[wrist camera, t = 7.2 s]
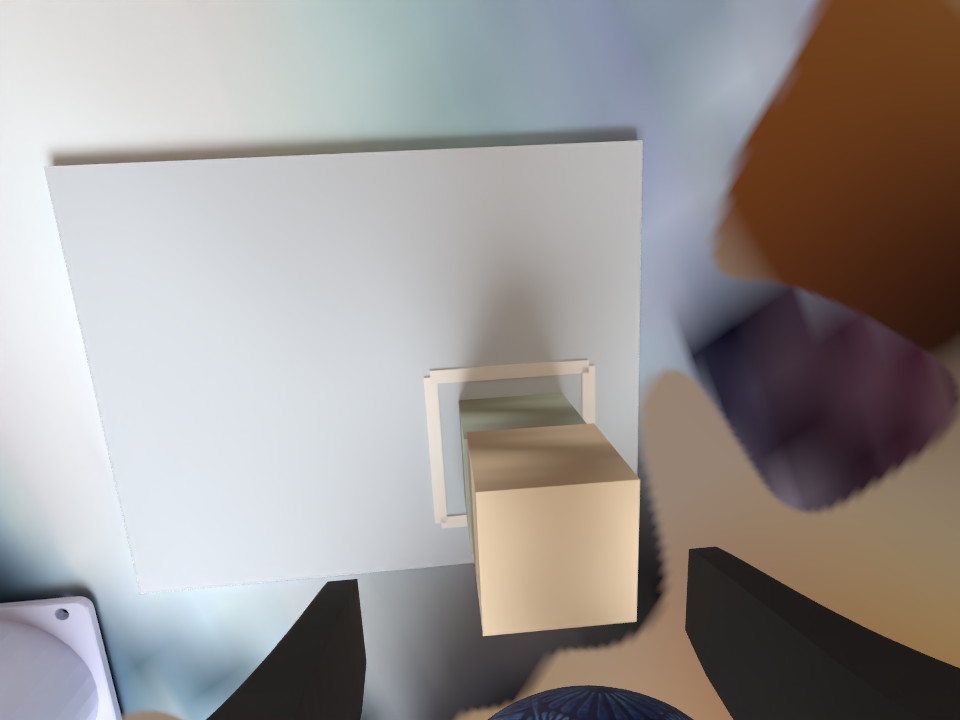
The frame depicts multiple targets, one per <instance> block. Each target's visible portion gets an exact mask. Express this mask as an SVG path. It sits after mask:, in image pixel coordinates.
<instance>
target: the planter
mask: <svg viewBox="0 0 960 720" xmlns="http://www.w3.org/2000/svg"><path fill="white" fill-rule="evenodd" d="M488 720H693V719H692V718H690V717H689V716H687V715H686V714H684V713H683V712H681V711H680V710H678V709H677V708H674V707H672V706H671V705H669V704H667V703H665V702H662V701H660V700H657V699H654V698H651V697H649V696H646V695H643V694H640V693H636V692H632V691H629V690H624V689H618V688H612V687H604V686H570V687H562V688H557V689H552V690H548V691H544V692H541V693H537V694H535V695H531V696H529V697H526V698H524V699H521V700H519V701H517V702H515V703H513V704H511V705H509V706H507V707H506V708H504V709H502V710H501V711H499V712H498V713H496V714H495V715H494V716H492V717H491V718H489V719H488Z"/></svg>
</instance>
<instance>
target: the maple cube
mask: <svg viewBox="0 0 960 720" xmlns="http://www.w3.org/2000/svg"><path fill="white" fill-rule="evenodd" d="M466 434H467V452H468V471H469V490H470V508H471V527H472V546H473V556H474V564H475V573H476V581H477V590H478V598H479V607H480V615H481V624H482V632H483V636H491V635H501V634H512V633H522V632H533V631H543V630H554V629H564V628H575V627H585V626H596V625H606V624H617V623H627V622H637V585H638V546H639V506H640V479H639V477H638V476H637V475H636V474H635V473H634V471H633V470H632V469H631V468H630V467H629V465H628V464H627V463H626V462H625V460H624V459H623V458H622V457H621V456H620V454H619V453H618V452H617V451H616V450H615V448H614V447H613V446H612V445H611V443H610V442H609V441H608V440H607V439H606V437H605V436H604V435H603V434H602V432H601V431H600V430H599V429H598V428H597V426H596V425H595V424H594V423H591V424H577V425H563V426H548V427H534V428H520V429H506V430H492V431H477V432H466Z"/></svg>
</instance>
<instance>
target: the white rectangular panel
mask: <svg viewBox="0 0 960 720" xmlns="http://www.w3.org/2000/svg"><path fill="white" fill-rule="evenodd" d="M642 160H643V140H636V141H613V142H590V143H567V144H545V145H522V146H499V147H476V148H453V149H431V150H408V151H385V152H362V153H340V154H317V155H294V156H271V157H248V158H226V159H203V160H180V161H157V162H135V163H112V164H89V165H66V166H44V169H45V173H46V178H47V182H48V187H49V191H50V196H51V200H52V204H53V209H54V213H55V218H56V222H57V227H58V231H59V236H60V240H61V244H62V249H63V253H64V258H65V262H66V267H67V271H68V276H69V280H70V284H71V289H72V293H73V298H74V302H75V307H76V311H77V316H78V320H79V324H80V329H81V333H82V338H83V342H84V347H85V351H86V356H87V360H88V364H89V369H90V373H91V378H92V382H93V387H94V391H95V396H96V400H97V405H98V409H99V413H100V418H101V422H102V427H103V431H104V436H105V440H106V445H107V449H108V453H109V458H110V462H111V467H112V471H113V476H114V480H115V485H116V489H117V493H118V498H119V502H120V507H121V511H122V516H123V520H124V525H125V529H126V533H127V538H128V542H129V547H130V551H131V556H132V560H133V565H134V569H135V573H136V578H137V582H138V587H139V591H140V594H148V593H158V592H169V591H180V590H191V589H201V588H212V587H223V586H234V585H244V584H255V583H266V582H277V581H287V580H298V579H309V578H320V577H331V576H341V575H352V574H363V573H374V572H384V571H395V570H406V569H417V568H427V567H438V566H449V565H460V564H470V563H474V556H473V554H471V550H470V541H469V532H468V523H467V514H466V505H465V495H464V479H463V463H462V448H461V432H460V416H459V400H470V399H484V398H497V397H511V396H525V395H538V394H552V393H563V394H564V395H565V397H566V398H567V399H568V401H569V402H570V403H571V404H572V406H573V407H574V408H575V409H576V411H577V412H578V413H579V415H580V416H581V417H582V418H583V420H584V421H585V422H586V424H591V423H594V424H595V425H596V426H597V428H598V429H599V430H600V431H601V432H602V434H603V435H604V436H605V437H606V439H607V440H608V441H609V442H610V443H611V445H612V446H613V447H614V448H615V450H616V451H617V452H618V453H619V454H620V456H621V457H622V458H623V459H624V460H625V462H626V463H627V464H628V465H629V467H630V468H631V469H632V470H633V471H634V473H635V474H636V475H637V469H638V408H639V346H640V284H641V222H642Z"/></svg>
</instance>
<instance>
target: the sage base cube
mask: <svg viewBox="0 0 960 720" xmlns="http://www.w3.org/2000/svg"><path fill="white" fill-rule="evenodd" d="M459 416H460V432H461V448H462V463H463V479H464V495H465V505H466V514H467V523H468V532H469V541H470V550H471V554H473V546H472V527H471V508H470V490H469V471H468V452H467V434H466V432H477V431H492V430H506V429H520V428H534V427H548V426H563V425H577V424H586V422H585V421H584V420H583V418H582V417H581V416H580V415H579V413H578V412H577V411H576V409H575V408H574V407H573V406H572V404H571V403H570V402H569V401H568V399H567V398H566V397H565V395H564V394H563V393H552V394H538V395H525V396H511V397H497V398H484V399H470V400H459Z"/></svg>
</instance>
